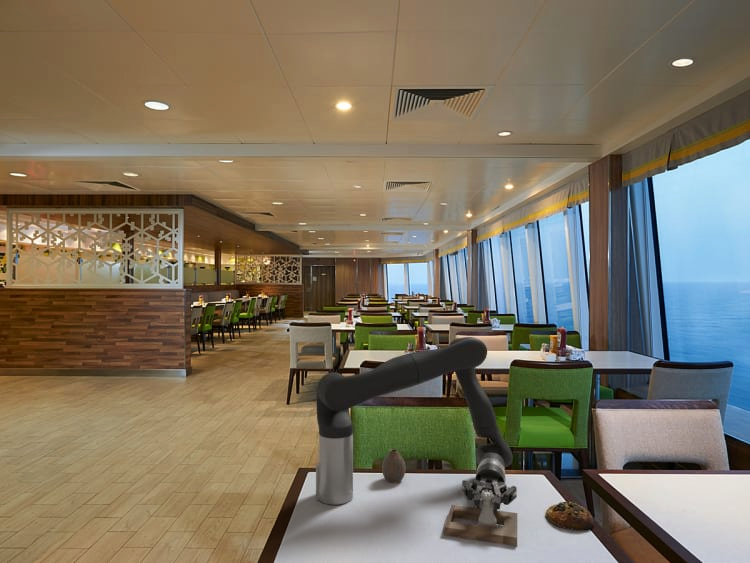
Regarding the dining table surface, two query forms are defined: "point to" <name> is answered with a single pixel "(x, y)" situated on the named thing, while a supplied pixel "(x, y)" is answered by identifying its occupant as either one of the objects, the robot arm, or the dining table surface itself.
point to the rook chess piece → (487, 510)
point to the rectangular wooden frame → (482, 526)
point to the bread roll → (570, 516)
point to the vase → (393, 467)
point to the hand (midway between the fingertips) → (486, 505)
